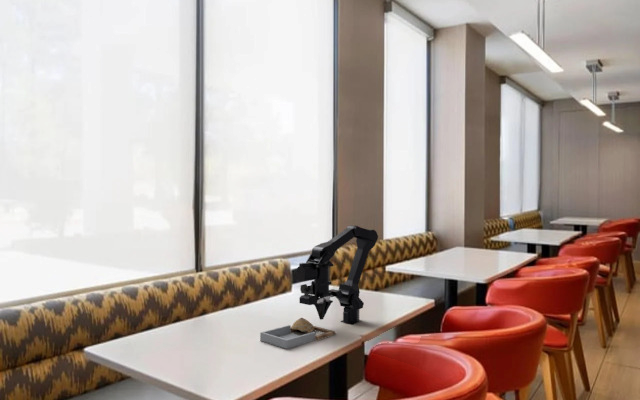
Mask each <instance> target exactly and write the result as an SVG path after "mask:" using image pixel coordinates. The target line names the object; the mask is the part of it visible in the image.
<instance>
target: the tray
mask: <svg viewBox="0 0 640 400" xmlns="http://www.w3.org/2000/svg"><path fill="white" fill-rule="evenodd" d="M291 327H292V325H290V324H288V325H284V326H280V327H276V328H273V329H268V330H265V331H260V333H259V335H260V338H259V339H260V341H259V342H263V343H265V344H270V345H272V346H276V347H279V348H282V349H285V350H290V349H292V348H295V347H298V346H301V345H305V344H307V343H310V342H313V341H316V340H315V339H316V336H317V335H316V332H317V331H312V332H310V333H305V334H301V335H298V334H296V333H293V332H291Z"/></svg>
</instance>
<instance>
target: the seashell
mask: <svg viewBox="0 0 640 400" xmlns="http://www.w3.org/2000/svg"><path fill="white" fill-rule="evenodd" d="M314 326H315V325H313V323H311V322H310V321H309V320H307V319H306V318H303V317H300V318H298V319H297V320H296V321H294V323H293V324H292V325H291V327H292V329H295V330H296V331H300V332H302V333H305V334H308V333H311V332H314V331H315V330H314Z"/></svg>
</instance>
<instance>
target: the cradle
mask: <svg viewBox="0 0 640 400" xmlns="http://www.w3.org/2000/svg"><path fill="white" fill-rule="evenodd" d="M313 326H314V330H313V331H315V330H316V331H315V332H319V331H320V333H321V334H318V335H316V340H315V341H320V340H323V339H325V337H326V338H328V336H329V337H331V336H334V335H336V331H335V330H332V329H327V328H324V327H320V326H317V325H316V326H315V325H313ZM296 331H297V330H295V329H292V326H291V333H293V332H296ZM323 332H324V333H323ZM322 338H323V339H322Z"/></svg>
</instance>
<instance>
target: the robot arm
mask: <svg viewBox="0 0 640 400" xmlns="http://www.w3.org/2000/svg"><path fill="white" fill-rule="evenodd" d="M354 238H355V243H356V251H355V255H354V257H353V260H352V264H351V266H350V270H349V273H348V276H347V278H346V280H345V282H344V283H340V284H339V287H338V289H335V288H334V289H333V288H331V289H330V285H332V281H330V267H331V268H332V267H334V265H335V264H333V263H332V262H331V261H330V260H331V259H332V258H333V257H335V255H336V252H337V251H338V250H339V249H340V248H341V247H343V246H344V245H346V244H347V243H348V242H350V241H351V240H353V239H354ZM378 239H379V235H378V232H377V231H376V230H375V229H369V228H365V227H364V228H363V227H361V226H359V225H351V224H350V225H348V226H347V227H346V228H345V229H343V230H342V231H340V232H339V233H338V234H337V235H335V236H334V237H332V238H331V239H329V240H328V241H325V242H322V243H319V244H317V245H314V247H313V248H312V249H311V253H310V254H309V256H308V258H307V260H306V261H305V262H299V264H298V265H299V266H298V267H297V268H296V270H295V276H296V279H297V281H299V282H308V281H311V284H310V285H308V284H306V283H305V284H301V285H300V288H299V289H300V293H301V295H300V296H299V304H304V305H307V306H314V307H315V309H316V312H317V315H318V318H319V320H321V321H322V320H324V318H325V317H326V315H327V312H328V309H329V308H330V306H331V304H332V303H333V302H334V301H333V300H331V298H333V297H335V298H336V299H337V300H338V303H339V305H340V307H343V311H342V320H340V323H344V324H348V325H355V324H358V323H361V322H362V320H361V319H360V310H361V309H363V308H364V301H363V300H362V299H361V298H360V293H361V292H360V288H359V287H360V286H359V284H360V281H361V277H362V274H363V272H364V268H365V265H366V262H367V259H368V255H369V253H370V252H371V250H372V249H373V248H374V247H375V246H376V243H377V241H378Z"/></svg>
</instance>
